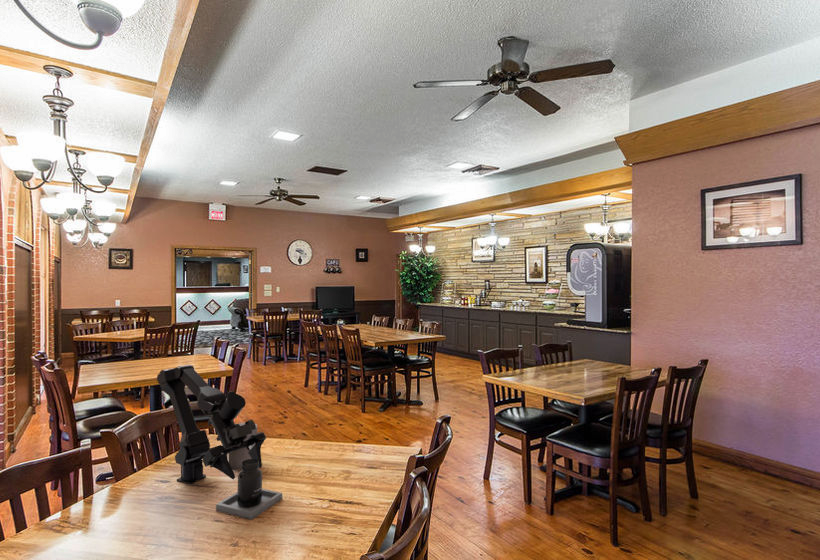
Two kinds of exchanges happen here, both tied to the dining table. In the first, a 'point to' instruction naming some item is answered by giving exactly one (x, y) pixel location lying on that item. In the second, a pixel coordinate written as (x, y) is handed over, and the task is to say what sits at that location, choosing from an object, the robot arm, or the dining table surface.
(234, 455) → the pillar candle
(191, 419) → the robot arm
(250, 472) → the supplement bottle
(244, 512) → the tray
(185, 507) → the dining table surface
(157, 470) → the dining table surface
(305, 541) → the dining table surface
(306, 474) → the dining table surface
